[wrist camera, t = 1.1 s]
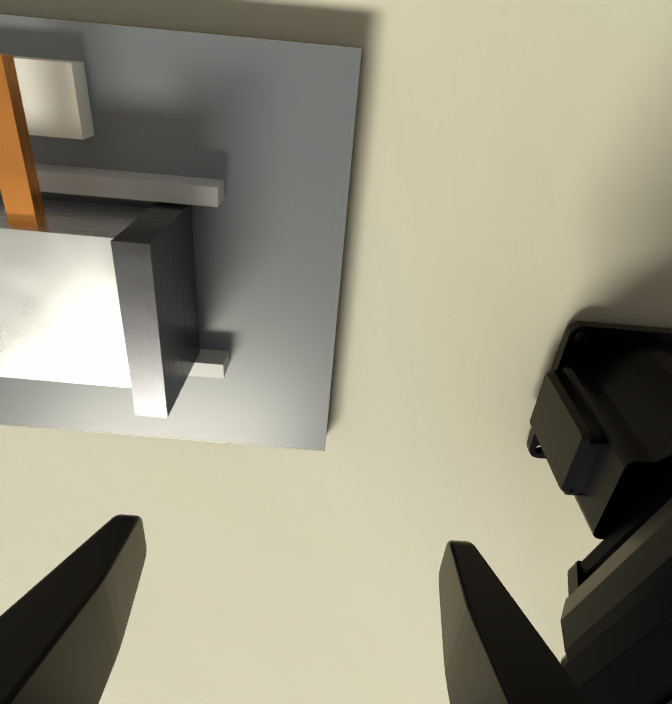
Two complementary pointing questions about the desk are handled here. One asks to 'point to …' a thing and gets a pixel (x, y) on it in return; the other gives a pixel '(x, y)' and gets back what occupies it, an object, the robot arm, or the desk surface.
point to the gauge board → (204, 209)
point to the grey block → (91, 281)
